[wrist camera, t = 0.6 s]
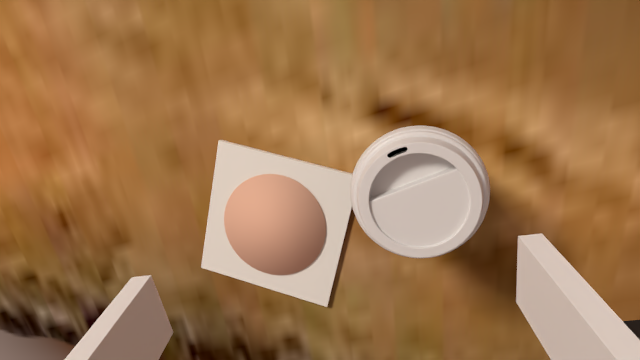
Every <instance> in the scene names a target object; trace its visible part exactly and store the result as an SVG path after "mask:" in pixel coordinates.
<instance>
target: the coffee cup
mask: <svg viewBox="0 0 640 360" xmlns="http://www.w3.org/2000/svg"><path fill="white" fill-rule="evenodd" d="M350 197H351V204H352V208H353V211H354V214H355V216H356V218H357V220H358V222H359V224H360V226H361V227H362V229H363V230H364V231H365V233H366V234H367V235H368V236H369V237H370V238H371V239H372V240H373V241H374V242H375V243H377V244H378V245H380V246H381V247H383V248H384V249H386V250H388V251H390V252H392V253H395V254H398V255H401V256H405V257H411V258H430V257H436V256H440V255H443V254H446V253H449V252H451V251H453V250H455V249H456V248H458V247H460V246H461V245H463V244H464V243H465V242H466V241H468V240H469V239H470V238H471V237H472V236H473V235H474V234H475V232H476V231H477V230H478V228H479V227H480V225H481V224H482V222H483V220H484V218H485V215H486V212H487V209H488V205H489V200H490V183H489V177H488V173H487V170H486V168H485V165H484V163H483V161H482V160H481V158H480V157H479V155H478V154H477V152H476V151H475V150H474V149H473V148H472V147H471V146H470V145H469V144H468V143H467V142H466V141H464V140H463V139H462V138H460V137H459V136H457V135H455V134H453V133H451V132H449V131H447V130H444V129H441V128H437V127H431V126H409V127H404V128H400V129H397V130H394V131H391V132H389V133H387V134H385V135H383V136H382V137H380V138H379V139H377V140H376V141H375V142H373V143H372V144H371V145H370V146H369V147H368V148H367V149H366V150H365V151H364V153H363V154H362V155H361V157H360V159H359V160H358V162H357V164H356V166H355V169H354V171H353V175H352V179H351V186H350Z"/></svg>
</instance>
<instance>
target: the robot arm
mask: <svg viewBox="0 0 640 360" xmlns="http://www.w3.org/2000/svg"><path fill="white" fill-rule="evenodd" d="M516 303H517V304H518V306H519V308H520V309H521V311H522V313H523V314H524V316H525V318H526V319H527V321H528V322H529V324H530V326H531V327H532V329H533V331H534V332H535V334H536V336H537V337H538V339H539V341H540V342H541V344H542V346H543V347H544V349H545V351H546V352H547V354H548V356H549V357H550V359H551V360H640V320H633V321H622V320H621V319H620V318H619V317H618V316H617V315H616V314H615V313H614V311H613V310H612V309H611V308H610V307H609V306H608V305H607V304H606V303H605V302H604V301H603V299H602V298H601V297H600V296H599V295H598V294H597V293H596V292H595V291H594V290H593V289H592V287H591V286H590V285H589V284H588V283H587V282H586V281H585V280H584V279H583V278H582V277H581V275H580V274H579V273H578V272H577V271H576V270H575V269H574V268H573V267H572V266H571V265H570V263H569V262H568V261H567V260H566V259H565V258H564V257H563V256H562V255H561V254H560V253H559V251H558V250H557V249H556V248H555V247H554V246H553V245H552V244H551V243H550V242H549V241H548V239H547V238H546V237H545V236H544V235H543V234H542V233H541V234H532V235H522V236H518V251H517V287H516ZM172 334H173V330H172V328H171V325H170V323H169V320H168V317H167V315H166V312H165V310H164V307H163V305H162V302H161V299H160V297H159V294H158V292H157V289H156V287H155V284H154V281H153V279H152V276H151V275H149V276H140V277H132V278H131V279H130V280H129V282H128V283H127V284H126V285H125V286H124V288H123V289H122V290H121V291H120V293H119V294H118V295H117V296H116V297H115V299H114V300H113V301H112V302H111V304H110V305H109V306H108V307H107V308H106V310H105V311H104V312H103V313H102V315H101V316H100V317H99V318H98V319H97V321H96V322H95V323H94V324H93V326H92V327H91V328H90V329H89V330H88V332H87V333H86V334H85V335H84V337H83V338H82V339H81V340H80V341H79V343H78V344H77V345H76V346H75V347H74V349H73V350H72V351H71V352H70V354H69V355H68V356H67V357H66V358H65V360H158V359H159V358H160V356H161V354H162V352H163V350H164V348H165V347H166V345H167V343H168V341H169V339H170V337H171V336H172Z"/></svg>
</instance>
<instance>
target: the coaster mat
mask: <svg viewBox="0 0 640 360" xmlns="http://www.w3.org/2000/svg"><path fill="white" fill-rule="evenodd" d="M352 175H353V174H352V173H348V172H344V171H340V170H336V169H333V168H329V167H325V166H321V165H317V164H313V163H309V162H305V161H302V160H298V159H294V158H290V157H286V156H282V155H278V154H274V153H271V152H267V151H263V150H259V149H255V148H251V147H247V146H243V145H240V144H236V143H232V142H228V141H224V140H219V142H218V149H217V156H216V163H215V171H214V178H213V185H212V192H211V200H210V207H209V214H208V221H207V229H206V236H205V243H204V250H203V257H202V265H201V268H204V269H207V270H211V271H214V272H217V273H220V274H223V275H227V276H230V277H233V278H236V279H239V280H242V281H246V282H249V283H252V284H255V285H258V286H262V287H265V288H268V289H271V290H274V291H277V292H281V293H284V294H287V295H290V296H293V297H297V298H300V299H303V300H306V301H309V302H313V303H316V304H319V305H322V306H325V307H327V306H328V302H329V298H330V294H331V290H332V286H333V282H334V278H335V274H336V270H337V266H338V262H339V258H340V254H341V250H342V246H343V242H344V237H345V233H346V229H347V225H348V221H349V217H350V213H351V209H352V204H351V197H350V186H351V179H352Z"/></svg>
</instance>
